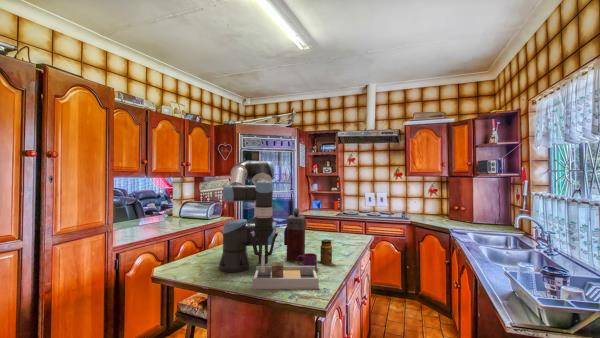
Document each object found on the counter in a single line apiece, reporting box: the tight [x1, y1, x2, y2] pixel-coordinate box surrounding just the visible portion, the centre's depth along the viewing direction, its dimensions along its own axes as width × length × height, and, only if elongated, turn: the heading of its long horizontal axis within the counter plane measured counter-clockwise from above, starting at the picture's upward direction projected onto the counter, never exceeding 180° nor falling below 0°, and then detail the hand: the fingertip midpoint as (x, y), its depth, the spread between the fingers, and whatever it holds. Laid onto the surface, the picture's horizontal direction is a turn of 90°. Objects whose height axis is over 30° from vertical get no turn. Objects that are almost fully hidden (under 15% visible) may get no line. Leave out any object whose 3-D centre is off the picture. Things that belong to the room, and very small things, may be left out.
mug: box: [296, 252, 318, 271], centre depth 138 cm, size 7×10×7 cm
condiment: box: [317, 239, 335, 267], centre depth 146 cm, size 7×8×12 cm
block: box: [271, 261, 285, 278], centre depth 121 cm, size 5×5×5 cm
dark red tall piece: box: [283, 207, 306, 263], centre depth 154 cm, size 9×11×28 cm
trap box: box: [251, 265, 320, 290], centre depth 121 cm, size 27×16×4 cm, turn 93°
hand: (263, 271), depth 120 cm, fingers closed
